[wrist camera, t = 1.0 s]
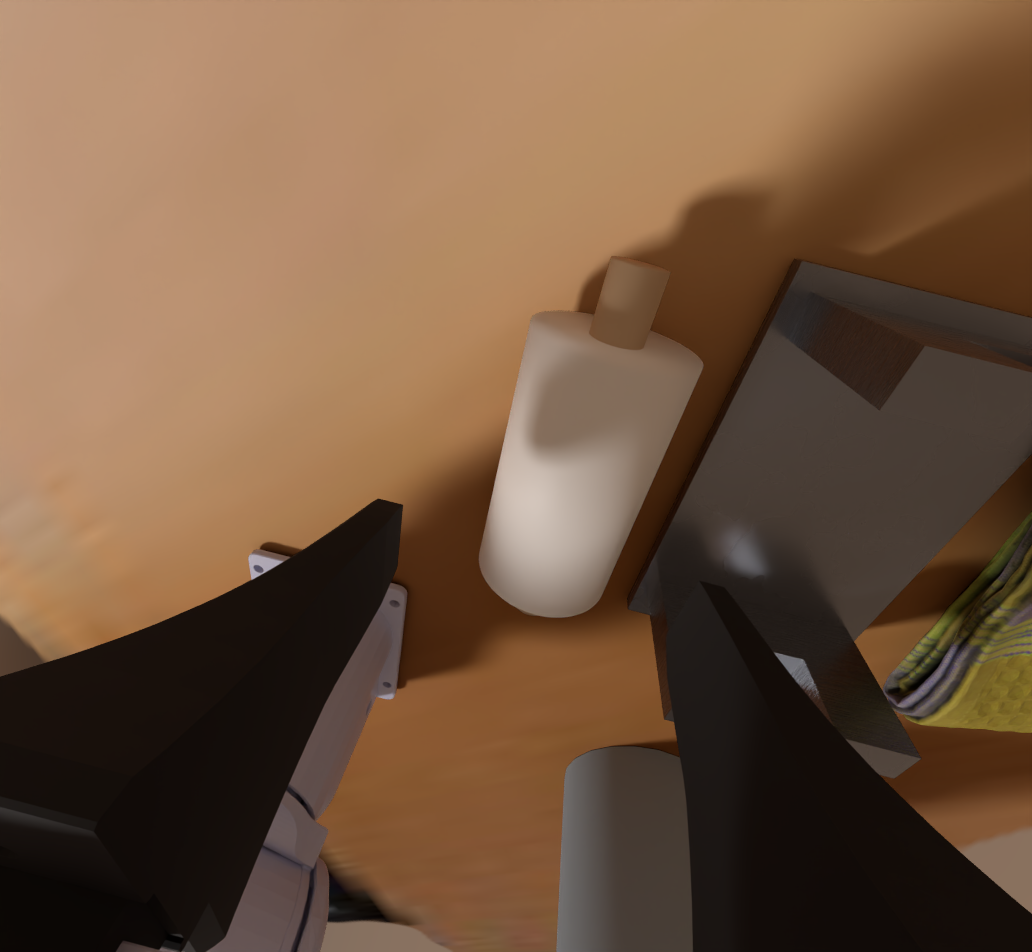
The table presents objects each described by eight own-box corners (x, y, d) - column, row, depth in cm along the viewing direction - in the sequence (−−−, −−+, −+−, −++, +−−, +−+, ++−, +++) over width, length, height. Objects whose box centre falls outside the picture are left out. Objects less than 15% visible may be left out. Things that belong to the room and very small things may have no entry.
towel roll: (574, 560, 22) (604, 653, 18) (467, 553, 21) (474, 652, 17) (685, 264, 15) (778, 307, 11) (533, 231, 14) (572, 265, 10)
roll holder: (828, 650, 22) (900, 792, 16) (626, 599, 22) (637, 724, 17) (1115, 338, 14) (1426, 427, 9) (794, 258, 14) (914, 299, 9)
